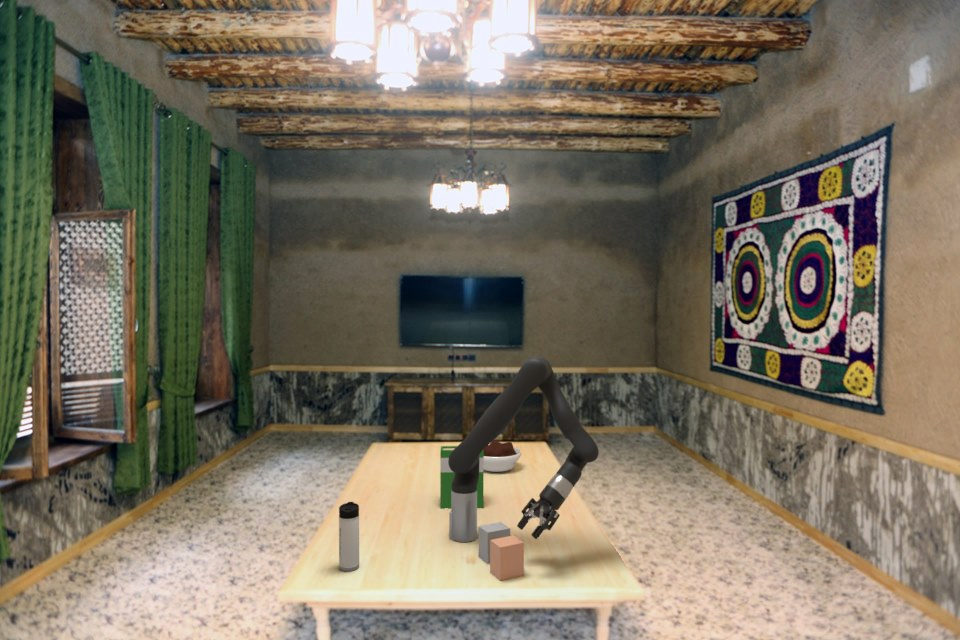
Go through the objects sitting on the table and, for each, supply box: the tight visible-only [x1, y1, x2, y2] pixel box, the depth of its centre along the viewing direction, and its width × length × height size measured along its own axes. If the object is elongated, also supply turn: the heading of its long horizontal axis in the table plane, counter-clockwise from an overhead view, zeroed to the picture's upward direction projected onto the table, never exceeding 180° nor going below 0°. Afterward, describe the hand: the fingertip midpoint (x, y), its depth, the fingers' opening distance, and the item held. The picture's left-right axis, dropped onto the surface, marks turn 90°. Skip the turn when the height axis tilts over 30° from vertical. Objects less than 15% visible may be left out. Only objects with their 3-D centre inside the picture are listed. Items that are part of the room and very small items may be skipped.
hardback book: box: [439, 445, 485, 510], centre depth 248 cm, size 18×7×24 cm, turn 92°
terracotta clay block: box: [489, 534, 525, 581], centre depth 186 cm, size 8×6×10 cm
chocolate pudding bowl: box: [483, 439, 522, 473], centre depth 302 cm, size 25×25×15 cm
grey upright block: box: [477, 521, 511, 565], centre depth 197 cm, size 8×6×10 cm
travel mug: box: [338, 501, 360, 572], centre depth 190 cm, size 6×7×20 cm
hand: (526, 532), depth 189 cm, fingers open, 8 cm apart
